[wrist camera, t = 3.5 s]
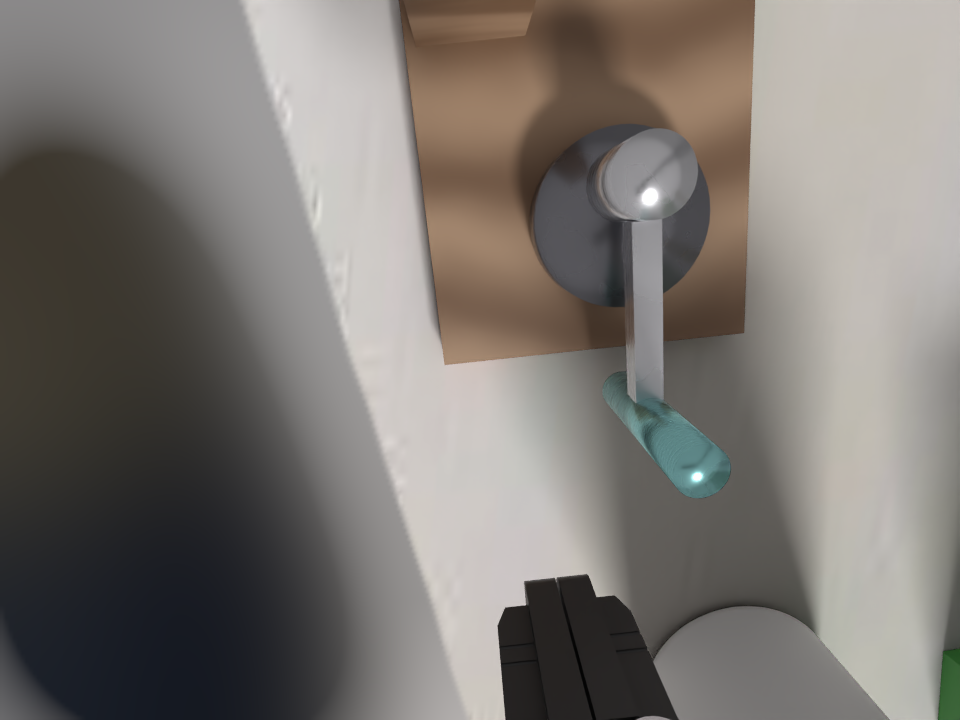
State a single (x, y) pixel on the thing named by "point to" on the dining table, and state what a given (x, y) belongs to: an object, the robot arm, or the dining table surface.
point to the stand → (550, 131)
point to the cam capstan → (632, 270)
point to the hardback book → (950, 686)
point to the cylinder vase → (757, 671)
